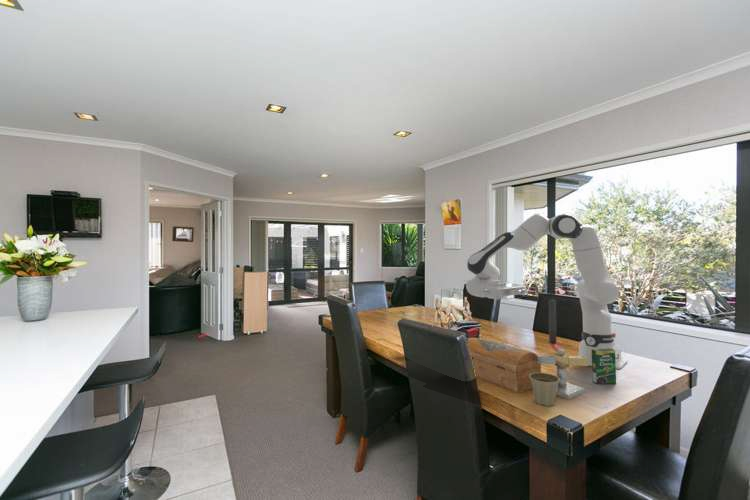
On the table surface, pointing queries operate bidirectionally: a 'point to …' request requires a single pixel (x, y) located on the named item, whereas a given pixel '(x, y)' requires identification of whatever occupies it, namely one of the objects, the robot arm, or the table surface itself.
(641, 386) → the table surface
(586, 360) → the standpipe valve
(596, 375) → the coffee box
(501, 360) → the wooden box
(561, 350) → the valve lever
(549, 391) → the flower pot
